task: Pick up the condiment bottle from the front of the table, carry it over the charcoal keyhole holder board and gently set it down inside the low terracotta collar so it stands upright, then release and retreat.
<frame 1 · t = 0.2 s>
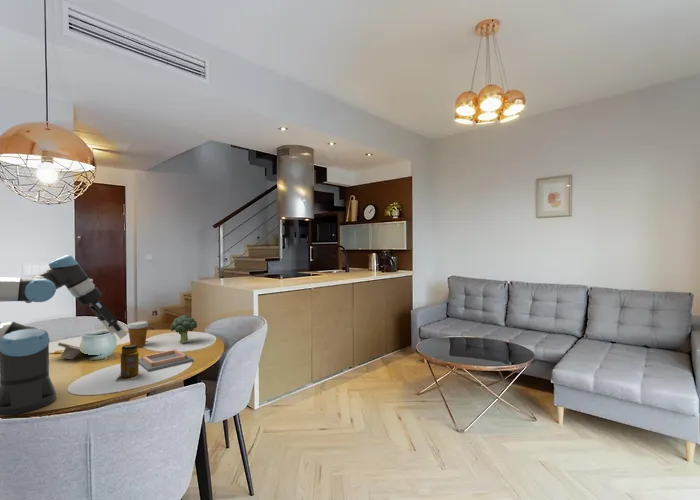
hand: (119, 334, 141), 15 cm above the table, tool tilted 30°, fingers open, 13 cm apart
holder: (164, 361, 154), on the table
grey angled piece: (76, 357, 161), on the table
condiment: (128, 377, 136), on the table
vegetable: (184, 343, 184), on the table
disposable coffee cup: (138, 346, 178), on the table
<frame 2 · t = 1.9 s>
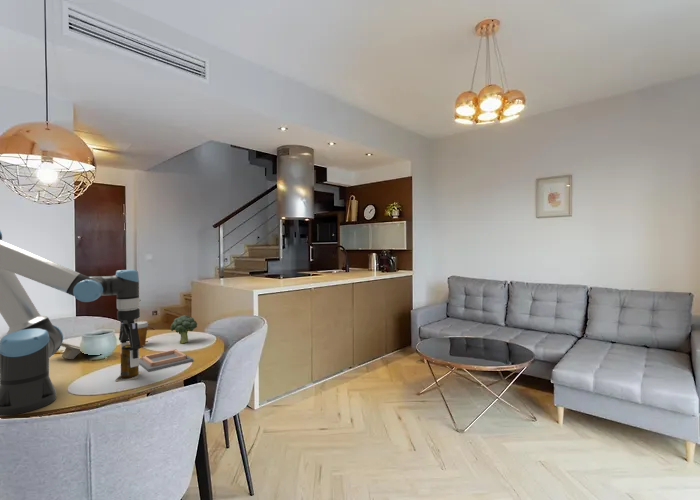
hand: (129, 362, 136), 5 cm above the table, tool pointing down, fingers open, 13 cm apart
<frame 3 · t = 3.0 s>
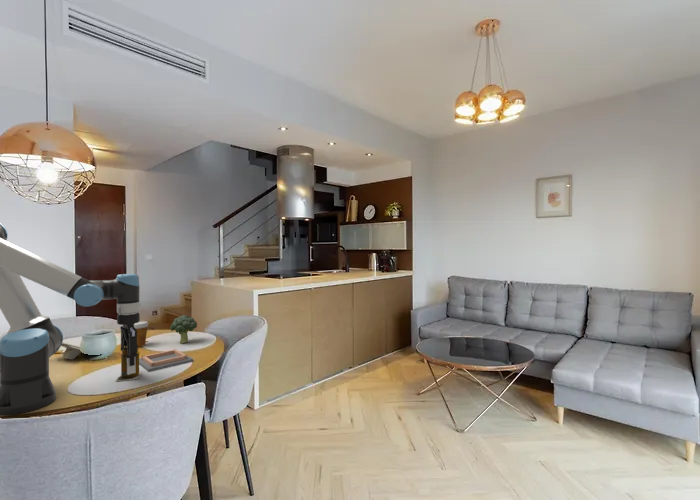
hand: (128, 371, 136), 2 cm above the table, tool pointing down, fingers closed on condiment, 6 cm apart
condiment: (129, 377, 136), on the table, touching gripper
everything else where it was.
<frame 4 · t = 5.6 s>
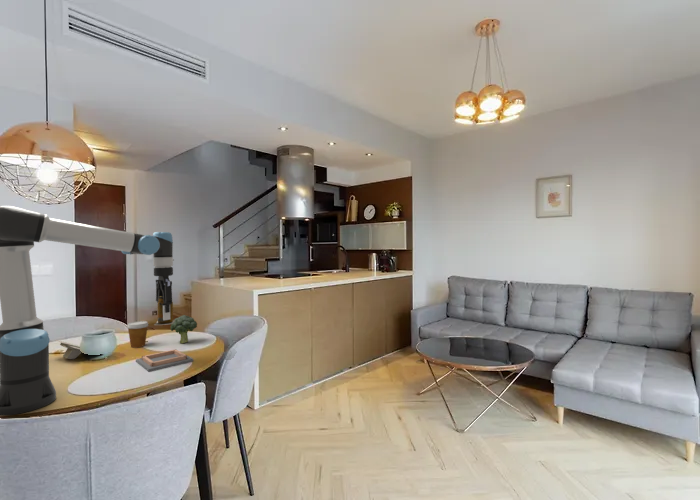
hand: (164, 318, 153), 19 cm above the table, tool pointing down, fingers closed on condiment, 6 cm apart
condiment: (164, 323, 153), point 17 cm above the table, touching gripper
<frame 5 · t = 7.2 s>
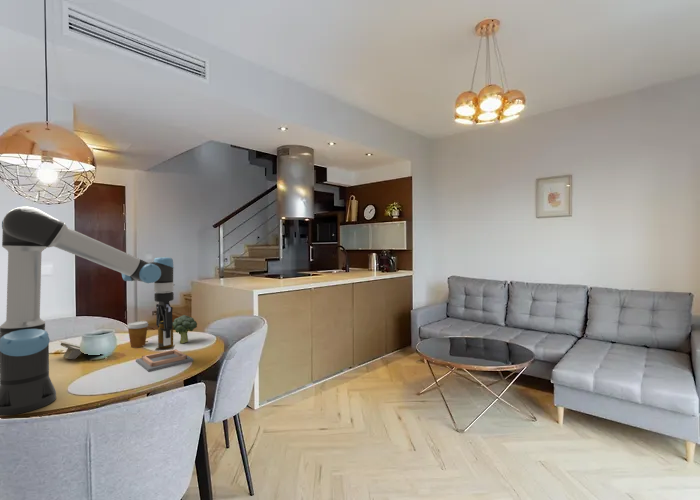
hand: (164, 343, 154), 8 cm above the table, tool pointing down, fingers closed on condiment, 6 cm apart
condiment: (165, 348, 153), point 6 cm above the table, touching gripper
when the fingers open (5 cm above the table, at t = 8.2 s): condiment drops 2 cm, resting on holder.
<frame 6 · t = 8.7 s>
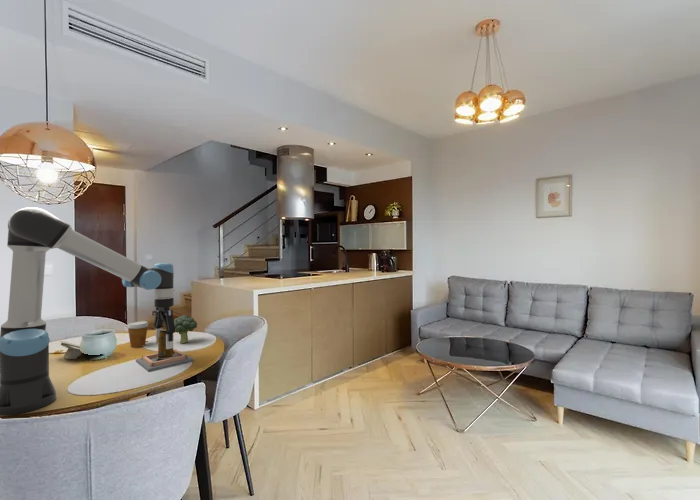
hand: (164, 345, 154), 7 cm above the table, tool pointing down, fingers open, 13 cm apart
condiment: (164, 358, 153), point 2 cm above the table, touching holder
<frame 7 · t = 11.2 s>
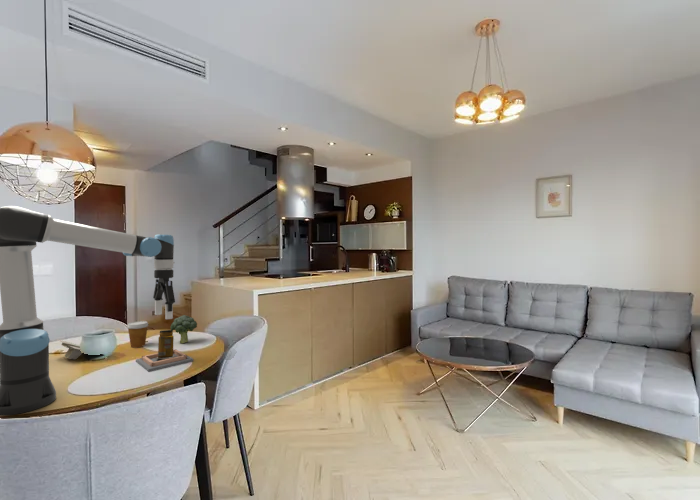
hand: (163, 316, 154), 20 cm above the table, tool pointing down, fingers open, 13 cm apart
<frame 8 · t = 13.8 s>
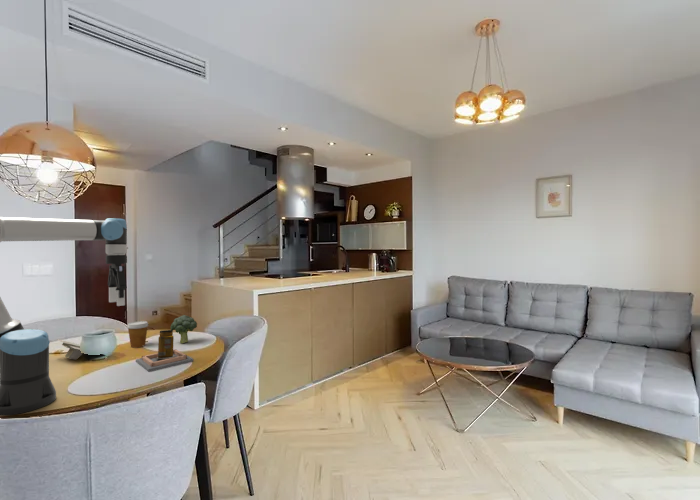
hand: (116, 303, 148), 27 cm above the table, tool pointing down, fingers open, 13 cm apart
at the end: condiment 0.8 cm off-centre on the holder, point 1.6 cm above the holder's base; condiment tilted 11°; the gripper is holding nothing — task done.
